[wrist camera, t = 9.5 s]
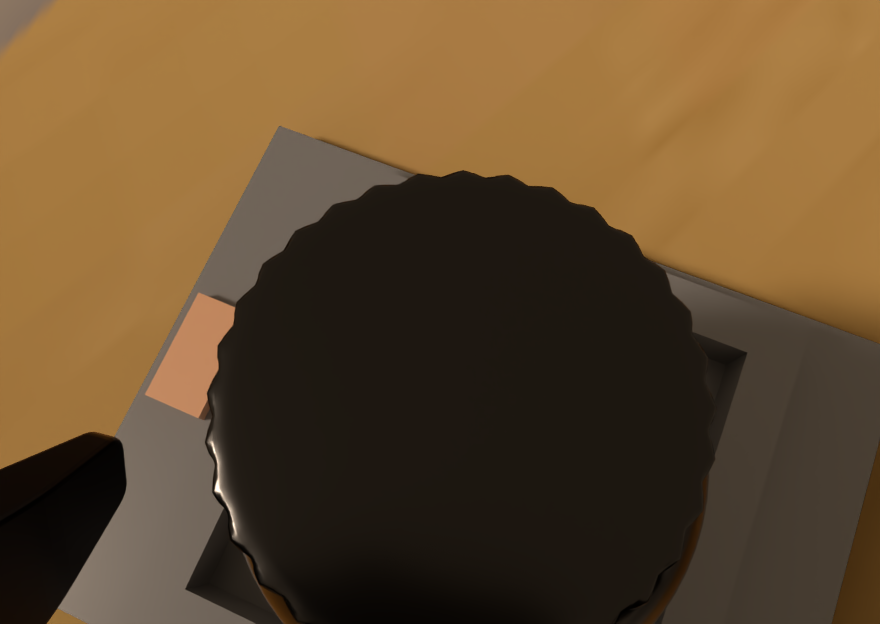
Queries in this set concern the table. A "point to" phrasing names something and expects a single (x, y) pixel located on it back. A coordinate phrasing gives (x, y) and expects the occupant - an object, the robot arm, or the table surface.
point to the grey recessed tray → (732, 433)
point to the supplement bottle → (462, 414)
